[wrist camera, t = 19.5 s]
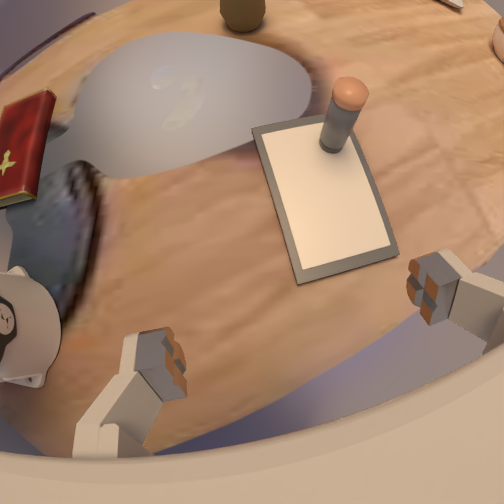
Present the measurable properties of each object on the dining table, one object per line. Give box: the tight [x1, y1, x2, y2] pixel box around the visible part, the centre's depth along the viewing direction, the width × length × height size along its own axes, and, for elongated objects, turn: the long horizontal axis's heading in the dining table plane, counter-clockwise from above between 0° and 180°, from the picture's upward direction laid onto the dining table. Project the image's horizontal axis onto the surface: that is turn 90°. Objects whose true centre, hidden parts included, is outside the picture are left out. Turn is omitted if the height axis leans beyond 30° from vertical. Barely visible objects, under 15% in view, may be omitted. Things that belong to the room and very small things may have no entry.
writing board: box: [252, 114, 400, 285], centre depth 41 cm, size 14×22×1 cm, turn 15°
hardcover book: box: [0, 88, 56, 210], centre depth 43 cm, size 12×21×4 cm, turn 5°
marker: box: [319, 77, 369, 154], centre depth 36 cm, size 4×4×12 cm
